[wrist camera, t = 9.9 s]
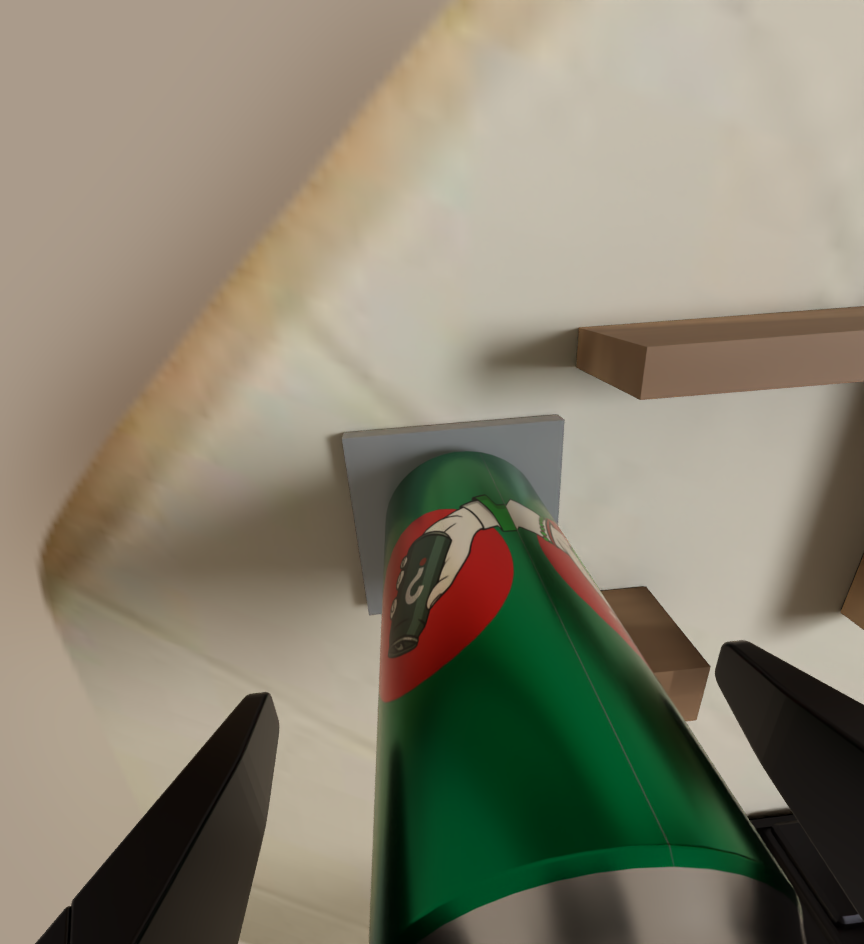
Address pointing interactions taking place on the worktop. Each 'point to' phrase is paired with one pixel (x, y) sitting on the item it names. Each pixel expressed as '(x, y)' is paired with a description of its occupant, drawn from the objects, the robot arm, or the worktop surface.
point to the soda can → (538, 747)
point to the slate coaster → (403, 449)
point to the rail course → (711, 372)
